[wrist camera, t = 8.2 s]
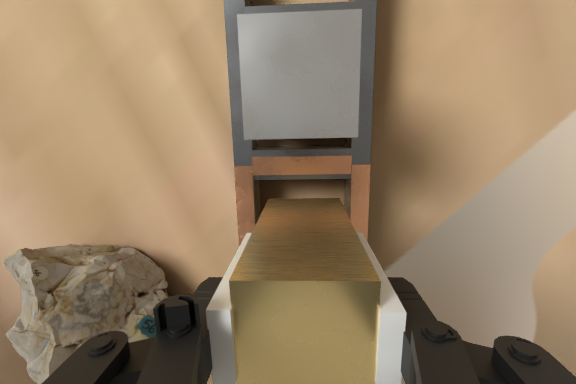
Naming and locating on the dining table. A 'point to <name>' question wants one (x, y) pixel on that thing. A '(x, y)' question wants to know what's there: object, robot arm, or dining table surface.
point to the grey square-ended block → (300, 74)
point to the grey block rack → (302, 160)
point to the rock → (80, 300)
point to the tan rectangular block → (305, 298)
